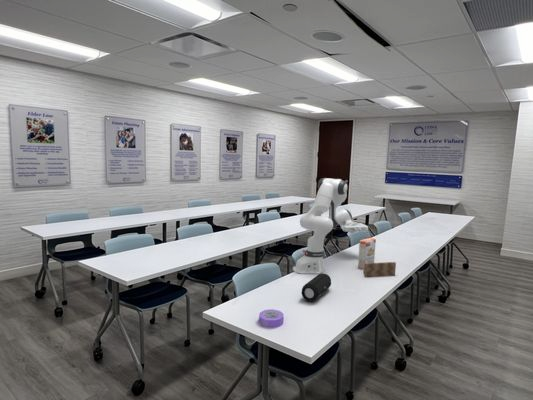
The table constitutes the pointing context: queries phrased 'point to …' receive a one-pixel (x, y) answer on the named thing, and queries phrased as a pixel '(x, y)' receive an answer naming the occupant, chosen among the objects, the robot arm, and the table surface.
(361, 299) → the table surface
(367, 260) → the cracker box
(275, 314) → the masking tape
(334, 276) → the table surface
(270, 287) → the table surface
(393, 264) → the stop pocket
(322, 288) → the portable speaker
